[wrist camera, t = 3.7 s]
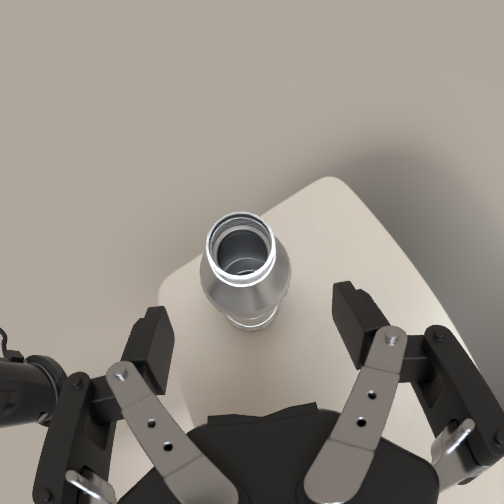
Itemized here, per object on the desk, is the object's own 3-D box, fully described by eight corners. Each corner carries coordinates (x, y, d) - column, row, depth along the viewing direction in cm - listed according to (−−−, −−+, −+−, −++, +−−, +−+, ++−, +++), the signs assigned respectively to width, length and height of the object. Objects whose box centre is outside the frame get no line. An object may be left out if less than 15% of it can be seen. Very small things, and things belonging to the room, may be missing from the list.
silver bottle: (224, 333, 32) (176, 312, 13) (223, 278, 34) (182, 191, 16) (280, 331, 32) (309, 306, 13) (276, 275, 34) (296, 185, 15)
